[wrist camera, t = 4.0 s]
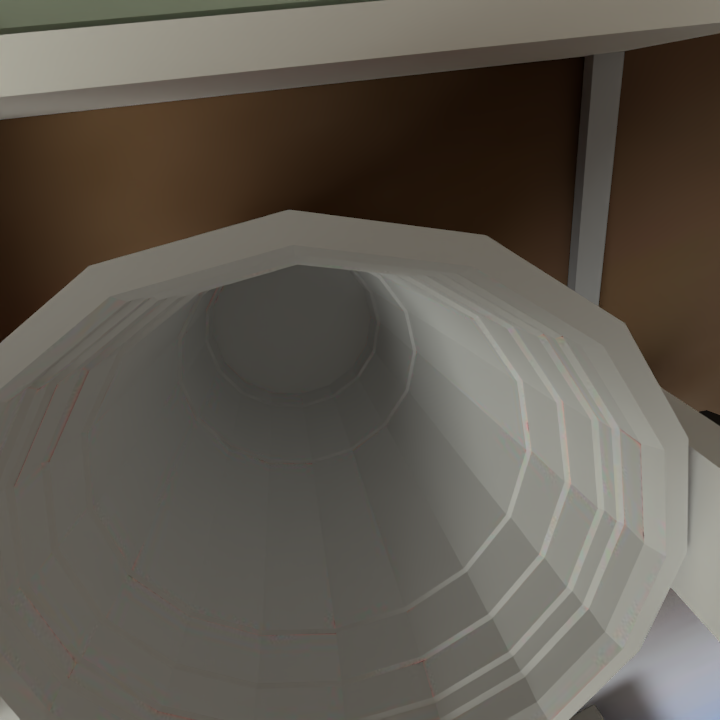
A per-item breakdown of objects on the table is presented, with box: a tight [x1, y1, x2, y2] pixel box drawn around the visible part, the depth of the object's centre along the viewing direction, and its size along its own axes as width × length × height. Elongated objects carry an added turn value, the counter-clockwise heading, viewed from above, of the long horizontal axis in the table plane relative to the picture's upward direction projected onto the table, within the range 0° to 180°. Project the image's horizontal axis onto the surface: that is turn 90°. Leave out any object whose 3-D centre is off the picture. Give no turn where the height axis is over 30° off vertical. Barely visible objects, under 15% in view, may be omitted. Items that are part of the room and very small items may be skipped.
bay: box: [0, 0, 720, 306], centre depth 15 cm, size 23×16×7 cm
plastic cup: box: [0, 210, 689, 720], centre depth 12 cm, size 11×11×12 cm
